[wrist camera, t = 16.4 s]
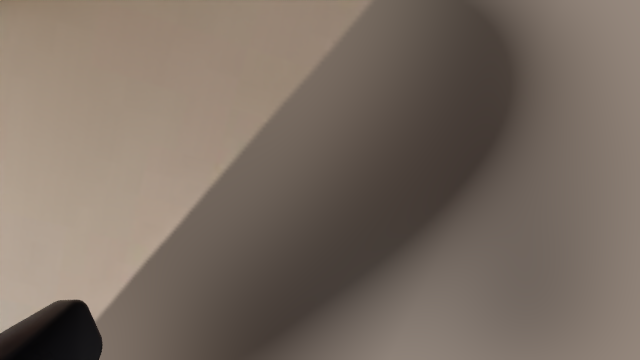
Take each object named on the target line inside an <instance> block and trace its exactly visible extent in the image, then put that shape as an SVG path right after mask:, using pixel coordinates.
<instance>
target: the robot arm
mask: <svg viewBox="0 0 640 360" xmlns="http://www.w3.org/2000/svg"><path fill="white" fill-rule="evenodd" d="M101 352H102V338H101V335H100V333H99V330H98V328H97V326H96V324H95V322H94V319H93V317H92V315H91V313H90V310H89V308H88V306H87V305H86V304H85V303H84V302H83V301H81V300H60V301H56V302H54V303H52V304H50V305H49V306H47V307H45V308H43V309H42V310H40V311H38V312H37V313H35V314H33V315H31V316H30V317H28V318H26V319H24V320H23V321H21V322H19V323H17V324H16V325H14V326H12V327H10V328H9V329H7V330H5V331H3V332H2V333H0V360H99V358H100V355H101Z"/></svg>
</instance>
